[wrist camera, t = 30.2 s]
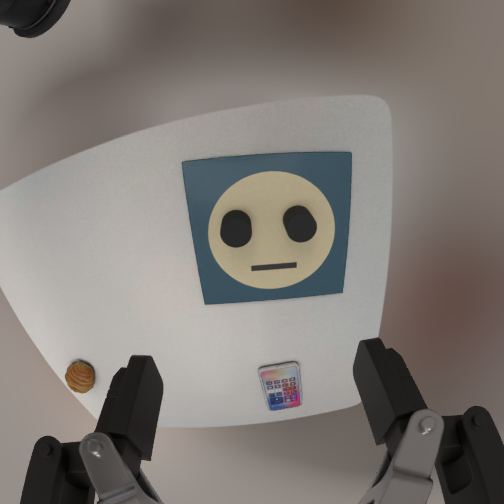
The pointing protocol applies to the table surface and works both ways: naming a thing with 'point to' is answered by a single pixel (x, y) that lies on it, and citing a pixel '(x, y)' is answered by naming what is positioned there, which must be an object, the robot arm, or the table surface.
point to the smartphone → (281, 386)
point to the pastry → (80, 377)
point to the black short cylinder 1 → (236, 228)
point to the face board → (270, 224)
